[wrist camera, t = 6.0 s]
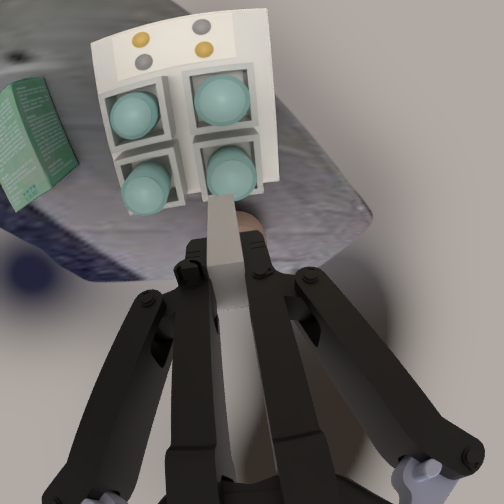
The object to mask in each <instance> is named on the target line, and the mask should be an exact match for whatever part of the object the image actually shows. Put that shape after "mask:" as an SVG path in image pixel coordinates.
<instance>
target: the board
mask: <svg viewBox="0 0 504 504" xmlns="http://www.w3.org/2000/svg"><path fill="white" fill-rule="evenodd" d="M91 50H92V58H93V65H94V72H95V78H96V84H97V90H98V99H99V104H100V109H101V114H102V118H103V123H104V127H105V131H106V136H107V140H108V144H109V148H110V151H111V154H112V157H113V160H114V161H113V163H114V166H115V170H116V173H117V177H118V180H119V183H120V187H121V189H122V185H123V183H124V182H125V180H126V179H127V177H128V176H129V174H130V173H131V172H132V170H133V169H134V168H135V167H136V166H137V165H138V164H140V163H142V162H146V161H154V162H157V163H160V164H162V165H163V166H164V167H165V168H166V169H167V170H168V172H169V173H170V176H171V188H170V191H169V195H168V198H167V202H166V204H165V206H164V207H163V209H166V208H171V207H177V206H182V205H186V200H187V194H191V193H197V192H201V194H202V199H203V202H206V201H208V197H211V196H214V195H213V194H212V193H211V192H210V190H209V188H208V186H207V163H208V160H209V158H210V157H211V155H212V154H213V153H214V152H215V151H217V150H218V149H220V148H223V147H227V146H234V147H238V148H240V149H242V150H244V151H245V152H246V153H247V154H248V155H249V157H250V159H251V161H252V163H253V165H254V167H255V170H256V173H257V182H256V185H255V188H254V189H253V191H252V192H251V193H250V194H249V195H253V194H261V193H264V188H263V183H266V182H274V181H279V163H278V143H277V126H276V110H275V95H274V81H273V68H272V56H271V45H270V34H269V24H268V14H267V8H259V9H236V10H224V11H215V12H207V13H199V14H193V15H187V16H182V17H176V18H171V19H167V20H162V21H158V22H154V23H150V24H146V25H143V26H139V27H136V28H132V29H129V30H126V31H123V32H120V33H117V34H114V35H111V36H108V37H105V38H103V39H100V40H98V41H95V42H93V43H91ZM216 75H230V76H234V77H236V78H238V79H239V80H241V81H242V82H243V83H244V84H245V85H246V87H247V89H248V91H249V94H250V105H249V109H248V111H247V113H246V114H245V115H244V117H243V118H242V119H241V120H239V121H238V122H236V123H234V124H232V125H229V126H214V125H211V124H208V123H207V122H205V121H204V120H202V119H201V118H200V116H199V115H198V113H197V112H196V109H195V105H194V98H195V94H196V91H197V89H198V88H199V86H200V85H201V84H202V83H203V82H204V81H205V80H207V79H208V78H210V77H213V76H216ZM138 91H147V92H150V93H152V94H154V95H155V96H156V97H157V98H158V101H159V107H160V113H161V117H160V119H159V121H158V123H157V124H156V125H155V126H154V127H153V128H152V129H151V130H150V131H149V132H148V133H147V134H146V135H144V136H143V137H140V138H138V139H125V138H123V137H121V136H119V135H118V134H117V133H116V132H115V131H114V130H113V128H112V126H111V122H110V114H111V110H112V107H113V106H114V104H115V103H116V101H117V100H118V99H120V98H121V97H122V96H124V95H127V94H130V93H134V92H138ZM127 209H128V208H127ZM128 212H129V215H135V213H133V212H131V211H130V210H129V209H128Z"/></svg>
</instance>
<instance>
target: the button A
mask: <svg viewBox="0 0 504 504" xmlns="http://www.w3.org/2000/svg"><path fill="white" fill-rule="evenodd" d="M160 117H161V113H160V107H159V101H158V98H157V97H156V96H155V95H154V94H152V93H150V92H147V91H138V92H134V93H130V94H127V95H124V96H122V97H121V98H120V99H118V100H117V101H116V103H115V104H114V106H113V107H112V110H111V114H110V122H111V126H112V128H113V130H114V131H115V132H116V133H117V134H118V135H119V136H121V137H123V138H125V139H138V138H140V137H143V136H144V135H146V134H147V133H148V132H149V131H150V130H151V129H152V128H153V127H154V126H155V125H156V124H157V123H158V121H159V119H160Z"/></svg>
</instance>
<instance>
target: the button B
mask: <svg viewBox="0 0 504 504" xmlns="http://www.w3.org/2000/svg"><path fill="white" fill-rule="evenodd" d="M170 188H171V176H170V173H169V172H168V170H167V169H166V168H165V167H164V166H163V165H162V164H160V163H157V162H154V161H146V162H142V163H140V164H138V165H137V166H136V167H135V168H134V169H133V170H132V172H131V173H130V174H129V176H128V177H127V179H126V180H125V182H124V183H123V185H122V189H121V197H122V200H123V203H124V205H125V206H126V207H127V208H128V209H129V210H130V211H131V212H133V213H135V214H137V215H140V216H151V215H154V214H156V213H158V212H159V211H161V210H162V209H163V207H164V206H165V204H166V202H167V198H168V195H169V191H170Z"/></svg>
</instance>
